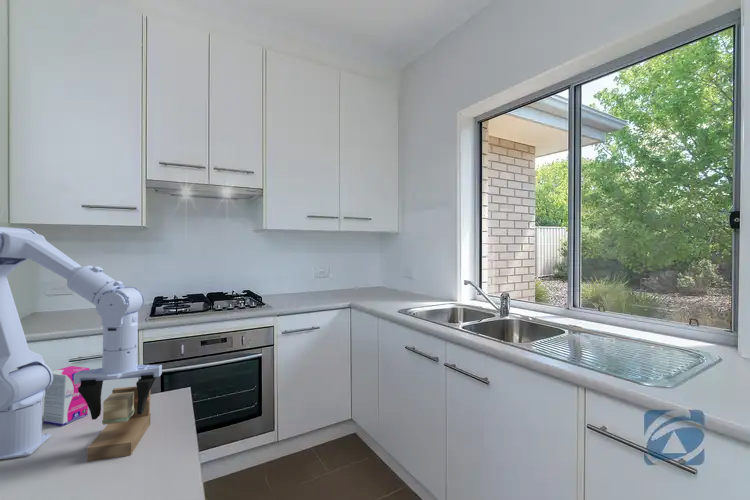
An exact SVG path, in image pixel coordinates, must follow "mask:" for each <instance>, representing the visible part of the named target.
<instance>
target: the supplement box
mask: <svg viewBox="0 0 750 500" xmlns="http://www.w3.org/2000/svg"><path fill="white" fill-rule="evenodd" d="M84 370H91V368H89V367H83V366H76V365H75V366H74V365H70V366H66V367H63V368H58V369H57V370H56V369H55V370H52V373H53V382H52V384H51V385H50V387H49V388H48V389H46V390H45V396H44V398H43V399H44V403H43V417H42V424H45V425H50V426H51V425H52V426H57V427H64V426H66V425H68V424H70V423H72V422H75V421H77V420H79V419H82V418H84V417H86V415H87V416H88V409H89V407H88V405H87V403H86V401H85V399H84V398H83V397H82V395H81V394H80V393H79V392H78V387H80V384H81V383H79V384H74V374H75V373H77V372H78V371H84Z"/></svg>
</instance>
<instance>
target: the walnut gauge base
mask: <svg viewBox="0 0 750 500" xmlns="http://www.w3.org/2000/svg"><path fill="white" fill-rule="evenodd" d="M125 392H134V413H133V415H132V416H131V417H130V419H129V420H128V421H127V422H122V423H114V424H106V426H105V427H103V429H102V430H101V432H100V433H99V434H98V435H97V436H96V437H95V439H94V440H93V441H92V442H91V443H90V445H89V446H88V447H87V448H86V449H87V452H86V455H87V457H86V461H87V462H94V461H99V460H107V459H113V458H119V457H120V458H121V457H127V456H132V454H133V452H134V451H135V449H136V448H137V446H138V445H139V443H140V441H142V440H141V439H142V438H143V436H144V435H145V434H146V431H147V430H148V428H149V427H150V425H151V415H152V413H151V390H150V391H149V394H148V396H147V400H146V403H145V408H144V411H143V413H142V414H138V415H137V405H138V392H137V385H136V386H126V387H117V388H116V387H115V388H113V389H112V392H111V394H115V393H125Z"/></svg>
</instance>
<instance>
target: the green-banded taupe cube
mask: <svg viewBox="0 0 750 500" xmlns="http://www.w3.org/2000/svg"><path fill="white" fill-rule="evenodd" d="M102 412H103V413H102V420H101V421H102V422H101V423H102V425H103V426H104V425H108V424H114V423H122V422H127V421H128V420H129V419H130V417H131V416H132V415H133V413H134V392H125V393H115V394H112V393H111V394H110V395H109V396H107V398H106V399H104V400H103V410H102Z"/></svg>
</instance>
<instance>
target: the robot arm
mask: <svg viewBox="0 0 750 500" xmlns="http://www.w3.org/2000/svg"><path fill="white" fill-rule="evenodd" d="M28 260H31V261H32V262H34V263H36V264H38V265H40V266H42V267H44V268H45V269H47V270H49V271H51V272H52V273H55V274H56V275H57V276H60V277H61V278H63V279H66V285H67V289H69V290H71V291H72V292H74V293H75V294H77V295H78V296H80V297H82V298H83V299H84V300H86V301H88V302H89V303H92V304H93V305H94V306H95V309H96V312H97V314H98V315H99V316H100V318H101V325H102V326H103V327H102V328H103V329H102V330H103V331H102V356H101V357H102V360H101V362H102V365H101V367H99V368H94V369H92V368H91V369H90V370H84V371H78V372H77V373H75V374H74V384H79V383H81V384H80V387H78V392H79V393H80V394H81V395H82V397H83V398H84V399H85V401H86V403H87V405H88V409H89V412H90V416H91V420H94V421H95V420H97V419H98V418H99V417H100V416H101V414H102V413H101V412H102V389H103V384H104V383H103V382H104V381H110V380H113V381H114V380H126V379H136V378H137V381H136V384H135V385H136V386H137V392H138V405H137V415H138V414H142V413H143V411H144V408H145V403H146V400H147V396H148V394H149V391H150V392H151V389H152V386H153V385H154V382H155V381H156V378H159V377H160V376H161V375H162V374H163V372H162V371H163V365H162V364H138V330H139V311H140V310H142V308H143V307H144V304H145V296H144V294H143V293H142V291H141V290H139V289H138V287H137V286H131V285H129V286H124V283H123V281H121V280H116V279H114V278H112V277H111V276H110V275H107V274H106V273H105V272H104V269H103V268H102V267H100V266H99V265H98V266H97V265H96V266H93V265H84V266H81V265H80V264H79V263H78V262H76V261H75V260H74V259H72V258H71V257H69V256H68V255H66V254H65V253H64V252H62V251H61V250H59V249H58V248H57V247H56V246H54V245H53V244H51V243H50V242H49V241H47V240H46V238H45V235H42V234H40V233H38V232H36V231H35V230H33V229H32V228H29V227H28V228H27V227H10V226H9V227H7V226H0V460H4V459H5V460H6V459H12V458H20V457H28V456H31V455H32V454H33V453H34V452H35V451H36V450H38V448H39V447H41V445H43V444H44V443H45V442H47V440H49V439H50V438H51V437H52V435H53V434H52V432H51V433H50V432H49V433H43V429H42V428H43V404H44V403H43V399H44V397H45V390H46V389H48V388H49V387H50V385H51V384H52V382H53V373H52V371H53V370H52V368H51V367H49V366H48V365H47V364H46V362H45V361H44V357H43V355H41V354H39V353H37V352H35V351H33V350H30V349H29V345H28V342H27V341H28V340H27V338H26V336H25V332H24V328H23V326H22V322H21V319H20V316H19V312H18V309H17V306H16V303H15V300H14V296H13V293H12V289H11V286H10V284H9V280H8V276H9V274H11V272H12V271H13V270H14V269H16V268H17V267H18V266H20V265H22V264H23V263H24V262H26V261H28ZM14 369H15V370H14ZM138 378H140V379H138Z"/></svg>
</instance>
